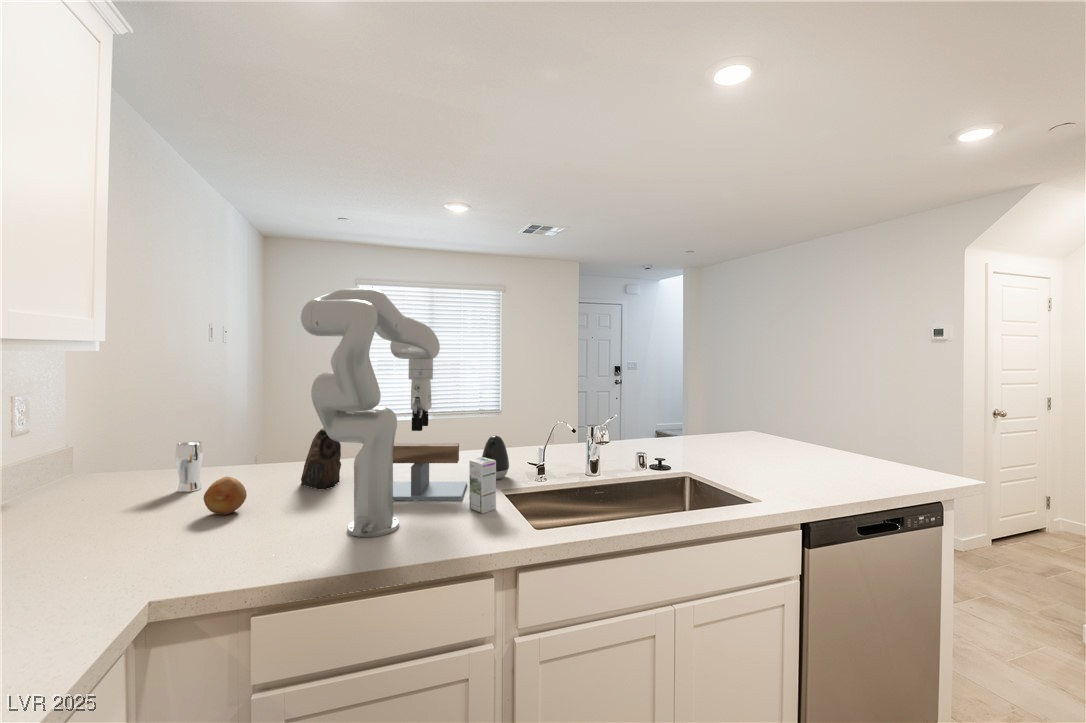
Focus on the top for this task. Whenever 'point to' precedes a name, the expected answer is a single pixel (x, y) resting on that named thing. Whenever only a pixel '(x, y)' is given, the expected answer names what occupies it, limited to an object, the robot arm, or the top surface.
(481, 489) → the syrup box
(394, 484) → the balance stand
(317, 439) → the owl
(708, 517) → the top surface
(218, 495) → the onion
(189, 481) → the beer glass
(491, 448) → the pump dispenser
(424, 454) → the walnut bar
